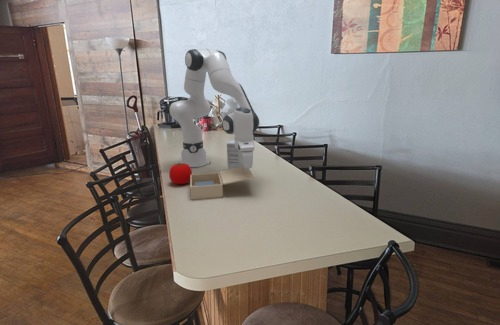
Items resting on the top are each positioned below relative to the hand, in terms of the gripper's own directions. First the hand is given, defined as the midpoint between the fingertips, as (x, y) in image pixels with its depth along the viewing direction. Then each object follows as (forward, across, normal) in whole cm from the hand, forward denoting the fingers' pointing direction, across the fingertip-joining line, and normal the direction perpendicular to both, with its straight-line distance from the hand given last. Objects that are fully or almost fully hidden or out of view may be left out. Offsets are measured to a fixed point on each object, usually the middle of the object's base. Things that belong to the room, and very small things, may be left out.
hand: (245, 172), depth 152 cm
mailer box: (+8, 0, -19) cm, 20 cm away
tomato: (+8, -15, -31) cm, 35 cm away
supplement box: (+8, -29, 0) cm, 30 cm away
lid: (+1, 0, -4) cm, 4 cm away
